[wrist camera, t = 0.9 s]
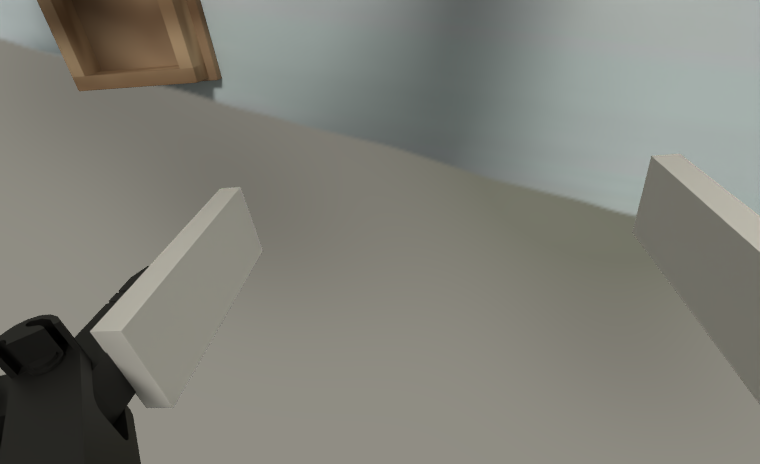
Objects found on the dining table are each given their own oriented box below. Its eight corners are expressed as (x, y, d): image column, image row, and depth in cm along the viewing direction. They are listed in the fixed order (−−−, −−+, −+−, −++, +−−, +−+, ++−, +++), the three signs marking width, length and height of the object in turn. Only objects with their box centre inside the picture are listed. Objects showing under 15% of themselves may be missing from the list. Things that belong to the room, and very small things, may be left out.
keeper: (21, -81, 33) (-13, -86, 30) (171, -101, 31) (149, -108, 28) (95, 87, 39) (72, 95, 37) (221, 77, 38) (207, 85, 35)
